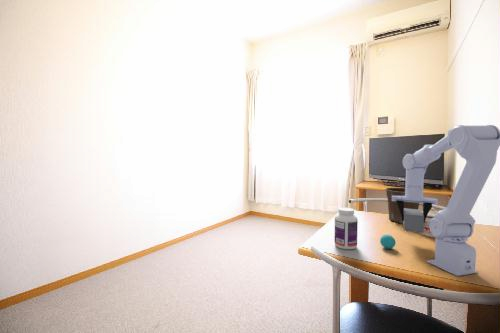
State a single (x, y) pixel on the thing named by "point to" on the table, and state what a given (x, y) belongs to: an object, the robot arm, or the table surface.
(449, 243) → the robot arm
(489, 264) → the table surface
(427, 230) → the teacup with lid
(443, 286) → the table surface
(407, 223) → the grey block
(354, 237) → the pill bottle
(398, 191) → the plant pot
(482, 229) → the table surface
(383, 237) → the ball
